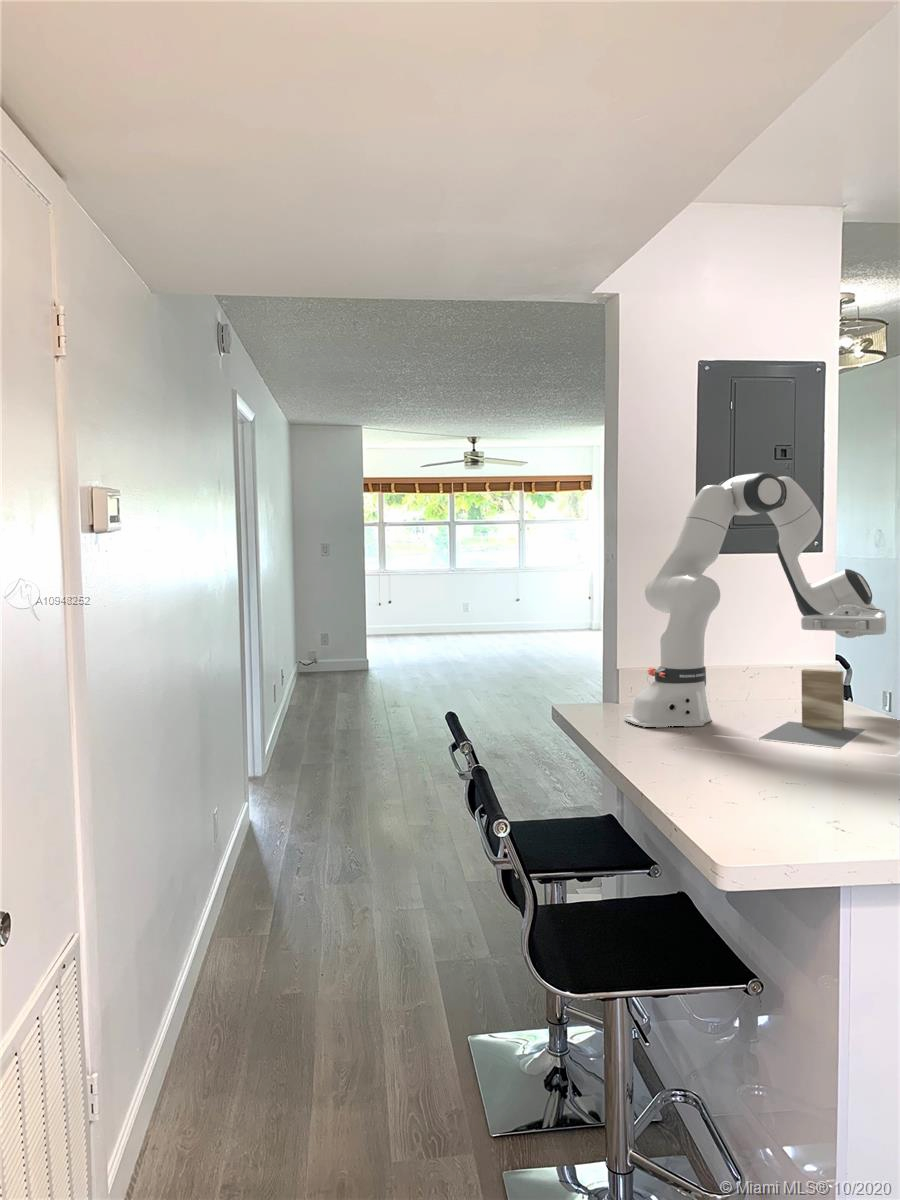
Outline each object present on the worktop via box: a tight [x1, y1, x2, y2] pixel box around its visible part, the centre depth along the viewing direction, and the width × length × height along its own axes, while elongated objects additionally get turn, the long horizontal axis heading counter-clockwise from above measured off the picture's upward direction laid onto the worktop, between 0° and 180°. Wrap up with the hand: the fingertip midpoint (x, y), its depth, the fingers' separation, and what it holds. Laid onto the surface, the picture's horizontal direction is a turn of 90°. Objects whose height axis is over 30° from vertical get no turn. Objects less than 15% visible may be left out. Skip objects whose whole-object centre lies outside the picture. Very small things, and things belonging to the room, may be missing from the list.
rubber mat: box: [758, 721, 866, 750], centre depth 200 cm, size 22×18×1 cm
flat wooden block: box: [801, 668, 845, 730], centre depth 206 cm, size 3×9×14 cm, turn 51°
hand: (835, 626), depth 214 cm, fingers open, 7 cm apart
